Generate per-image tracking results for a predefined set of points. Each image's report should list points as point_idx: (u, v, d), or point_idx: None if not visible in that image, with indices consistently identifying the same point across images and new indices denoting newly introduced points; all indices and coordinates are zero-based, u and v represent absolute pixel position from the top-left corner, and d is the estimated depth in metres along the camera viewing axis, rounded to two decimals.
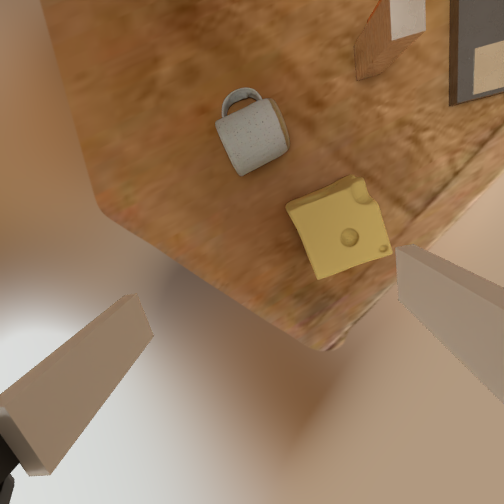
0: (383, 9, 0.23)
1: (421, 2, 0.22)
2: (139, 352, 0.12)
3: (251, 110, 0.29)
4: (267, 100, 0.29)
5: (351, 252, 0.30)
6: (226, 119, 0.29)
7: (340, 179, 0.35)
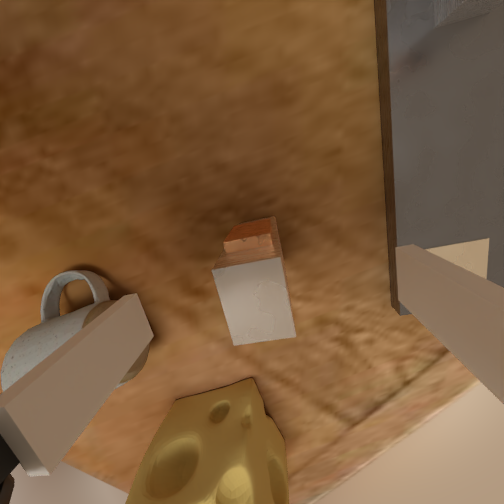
0: None
1: (280, 295, 0.10)
2: (139, 352, 0.12)
3: (50, 350, 0.17)
4: (79, 330, 0.17)
5: None
6: (17, 353, 0.18)
7: (237, 392, 0.24)
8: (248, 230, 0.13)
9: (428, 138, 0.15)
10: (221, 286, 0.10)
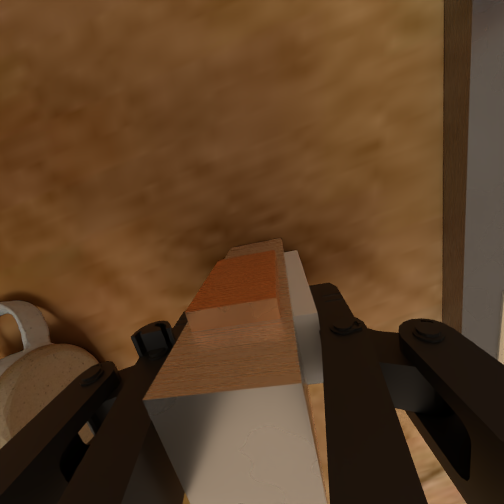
0: None
1: (299, 456, 0.05)
2: None
3: None
4: None
5: None
6: None
7: None
8: (237, 278, 0.08)
9: None
10: (168, 431, 0.05)
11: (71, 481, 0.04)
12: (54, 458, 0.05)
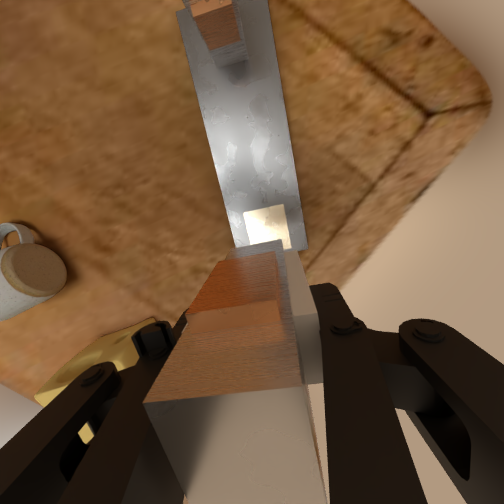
0: None
1: (299, 458, 0.05)
2: None
3: None
4: (1, 255, 0.25)
5: None
6: None
7: (138, 325, 0.32)
8: (237, 280, 0.08)
9: (230, 136, 0.24)
10: (168, 433, 0.05)
11: (71, 481, 0.04)
12: (53, 458, 0.05)
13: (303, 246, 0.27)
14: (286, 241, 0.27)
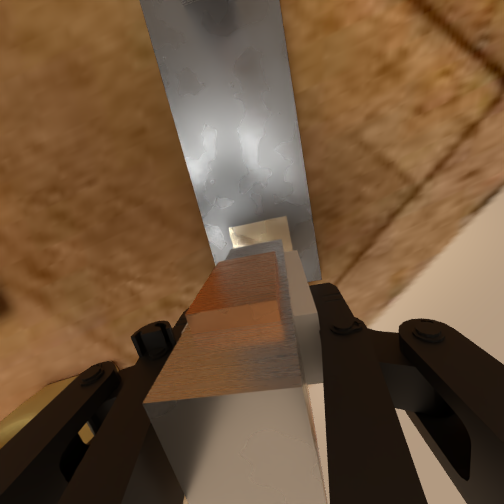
0: None
1: (299, 459, 0.05)
2: None
3: None
4: None
5: None
6: None
7: None
8: (237, 280, 0.08)
9: (206, 115, 0.16)
10: (168, 434, 0.05)
11: (71, 481, 0.04)
12: (54, 458, 0.05)
13: (314, 276, 0.19)
14: None
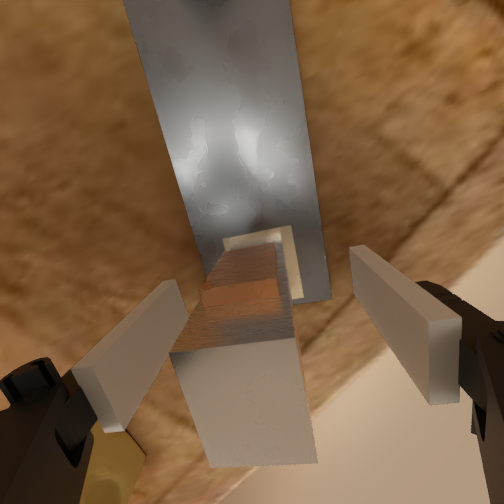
0: None
1: (292, 400, 0.06)
2: None
3: None
4: None
5: None
6: None
7: None
8: (241, 265, 0.09)
9: (194, 105, 0.13)
10: (187, 379, 0.06)
11: None
12: None
13: (324, 295, 0.16)
14: (296, 286, 0.16)
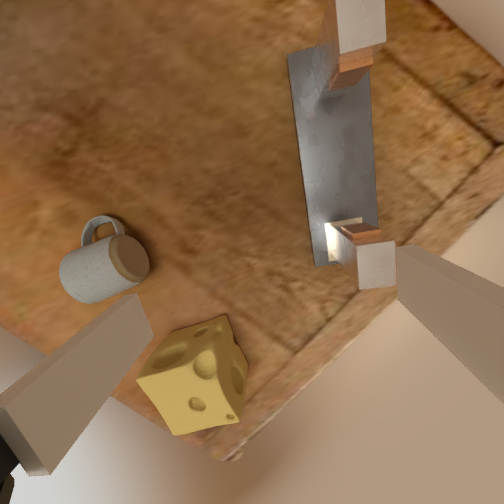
0: (352, 251, 0.21)
1: (390, 261, 0.20)
2: (139, 353, 0.12)
3: (90, 254, 0.29)
4: (107, 243, 0.29)
5: (200, 417, 0.30)
6: (69, 259, 0.29)
7: (214, 321, 0.35)
8: (360, 228, 0.23)
9: (320, 158, 0.27)
10: (360, 255, 0.20)
11: None
12: None
13: None
14: None
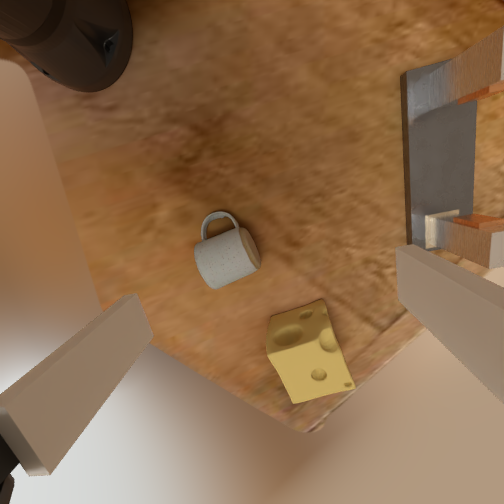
0: (480, 237, 0.26)
1: None
2: (140, 352, 0.12)
3: (224, 245, 0.33)
4: (238, 235, 0.33)
5: (320, 386, 0.35)
6: (203, 250, 0.34)
7: (315, 305, 0.40)
8: (479, 218, 0.28)
9: (427, 159, 0.32)
10: (493, 240, 0.25)
11: None
12: None
13: None
14: None
